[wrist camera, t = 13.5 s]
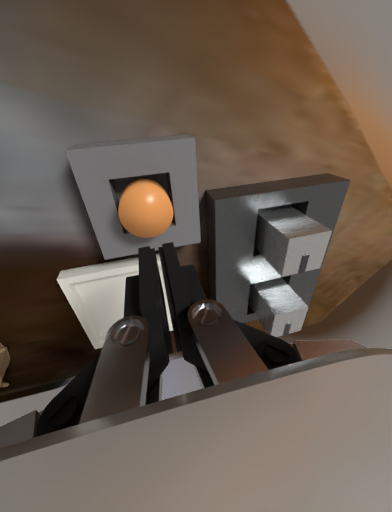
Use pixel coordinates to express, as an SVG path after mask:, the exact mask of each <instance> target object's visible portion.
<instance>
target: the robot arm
mask: <svg viewBox="0 0 392 512" xmlns="http://www.w3.org/2000/svg"><path fill="white" fill-rule="evenodd" d="M158 250H159V255H160V261H161V267H162V272H163V278H164V284H165V289H166V295H167V301H168V306H169V311H170V317H171V322H172V327H173V332H174V338H175V343H176V348H177V352H179V351H182V353H183V358H184V360H186V361H187V362H189V363H191V364H193V365H194V369H195V372H196V374H197V377H198V379H199V381H200V384H201V386H202V389H200V390H197V391H194V392H190V393H186V394H183V395H179V396H176V397H173V398H169V399H165V400H162V381H163V377H162V372H163V371H164V369H165V368H166V367H167V365H168V362H169V355H168V354H171V353H173V348H172V342H171V336H170V330H169V324H168V318H167V311H166V305H165V299H164V293H163V288H162V283H161V278H160V273H159V268H158V263H157V258H156V253H155V248H152V249H150V246H146V247H141V248H138V260H139V275H135V276H129V277H126V283H125V300H124V317H123V318H122V319H120V320H118V321H117V322H115V323H114V324H113V325H112V326H111V327H110V328H109V330H108V332H107V334H106V338H105V341H104V344H103V347H102V351H101V353H100V354H99V355H98V356H97V357H96V358H95V359H94V360H92V361H91V362H90V363H89V364H88V365H87V366H86V367H85V368H84V369H83V370H82V371H81V372H80V373H79V374H78V375H77V376H76V377H75V378H74V379H73V380H72V381H71V382H70V383H69V384H68V385H67V386H66V387H65V388H64V389H63V390H62V391H61V392H60V393H59V394H58V395H57V396H56V397H54V398H53V399H52V400H51V402H50V403H49V404H48V405H47V406H46V408H45V409H44V410H43V411H41V412H37V411H36V410H35V411H33V412H31V413H29V414H27V415H25V416H22V417H21V418H18V419H16V420H14V421H12V422H10V423H8V424H6V425H4V426H2V427H0V512H392V349H383V348H382V349H381V348H366V347H364V346H363V345H361V344H360V343H358V342H355V341H352V340H346V339H338V340H305V341H294V343H293V344H288V343H287V342H285V341H283V340H281V339H279V338H277V337H274V336H272V335H270V334H267V333H265V332H262V331H260V330H257V329H255V328H252V327H250V326H248V325H245V324H243V323H240V322H238V321H235V320H233V319H232V317H231V316H230V314H229V313H228V311H227V310H226V309H225V307H224V306H223V305H222V304H221V303H219V302H217V301H214V300H207V298H206V295H205V292H204V290H203V287H202V285H201V282H200V280H199V277H198V275H197V272H196V270H195V267H194V265H193V264H192V265H187V266H182V267H180V264H179V261H178V257H177V254H176V251H175V247H174V244H173V242H170V243H164V244H162V247H158Z"/></svg>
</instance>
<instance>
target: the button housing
mask: <svg viewBox="0 0 392 512" xmlns="http://www.w3.org/2000/svg"><path fill="white" fill-rule="evenodd" d="M65 152H66V155H67V158H68V160H69V163H70V166H71V168H72V171H73V174H74V177H75V179H76V182H77V185H78V188H79V190H80V193H81V196H82V199H83V201H84V204H85V207H86V210H87V212H88V215H89V218H90V221H91V223H92V226H93V229H94V232H95V234H96V237H97V240H98V243H99V245H100V248H101V251H102V253H103V256H104V259H105V260H106V259H112V258H117V257H123V256H128V255H134V254H138V248H141V247H146V246H150V249H152V248H155V251H156V250H158V247H162V244H164V243H170V242H173V244H174V247H178V246H184V245H189V244H195V243H200V242H201V235H200V218H199V200H198V182H197V164H196V147H195V137H192V136H189V135H187V134H186V135H175V136H165V137H154V138H143V139H132V140H122V141H111V142H100V143H90V144H79V145H73V146H72V147H70V148H68V149H66V150H65ZM142 178H145V179H151V180H154V181H156V182H157V183H159V184H160V185H161V186H162V187H163V188H164V189H165V191H166V193H167V195H168V197H169V199H170V201H171V204H172V207H173V219H172V222H171V224H170V226H169V227H168V228H167V230H166V231H164V232H163V233H162V234H160V235H158V236H155V237H150V238H143V237H138V236H135V235H133V234H131V233H130V232H128V231H127V230H126V229H125V228H124V227H123V225H122V223H121V222H120V219H119V214H118V209H119V202H120V196H121V193H122V190H123V189H124V187H125V186H126V185H127V184H128V183H130V182H131V181H133V180H136V179H142Z"/></svg>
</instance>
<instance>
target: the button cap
mask: <svg viewBox="0 0 392 512" xmlns="http://www.w3.org/2000/svg"><path fill="white" fill-rule="evenodd" d="M118 214H119V219H120V222H121V223H122V225H123V227H124V228H125V229H126V230H127V231H128V232H130V233H131V234H133V235H135V236H138V237H143V238H150V237H155V236H158V235H160V234H162V233H163V232H164V231H166V230H167V228H168V227H169V226H170V224H171V222H172V219H173V207H172V204H171V201H170V199H169V197H168V195H167V193H166V191H165V189H164V188H163V187H162V186H161V185H160V184H159V183H157V182H156V181H154V180H151V179H145V178H142V179H136V180H133V181H131V182H130V183H128V184H127V185H126V186H125V187H124V189H123V190H122V193H121V196H120V202H119V209H118Z"/></svg>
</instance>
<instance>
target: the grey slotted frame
mask: <svg viewBox="0 0 392 512" xmlns="http://www.w3.org/2000/svg"><path fill="white" fill-rule="evenodd" d="M349 183H350V180H348V179H345V178H342V177H338V176H335V175H332V174H328V173H327V174H320V175H313V176H306V177H299V178H291V179H284V180H277V181H270V182H263V183H256V184H248V185H241V186H234V187H227V188H220V189H213V190H206V213H207V240H208V268H209V296H210V300H214V301H217V302H219V303H221V304H222V305H223V306H224V307H225V309H226V310H227V311H228V313H229V314H230V316H231V317H232V319H233V320H235V321H238V322H240V323H246V322H250V321H254V320H258V318H257V317H256V315H255V313H254V312H253V310H252V309H251V307H250V305H249V304H248V299H249V289H250V284H254V283H258V282H263V281H267V280H272V279H276V278H281V275H280V274H279V273H278V272H277V271H276V270H275V269H274V268H273V267H272V266H271V265H270V263H269V262H268V261H267V260H266V259H265V258H264V257H263V256H262V255H261V254H260V253H259V251H258V250H257V249H256V248H255V247H254V242H255V232H256V223H257V213H258V209H263V208H269V207H275V206H281V205H287V204H288V205H289V206H291V207H293V208H294V209H296V210H298V211H300V212H301V213H303V214H305V215H306V216H308V217H310V218H311V219H313V220H315V221H317V222H318V223H320V224H322V225H323V226H325V227H327V228H329V229H330V230H332V233H331V236H330V239H329V242H328V245H327V248H326V251H325V254H324V258H325V255H326V252H327V249H328V246H329V243H330V240H331V237H332V234H333V231H334V228H335V225H336V222H337V219H338V216H339V213H340V210H341V207H342V204H343V201H344V198H345V195H346V192H347V189H348V186H349ZM324 258H323V261H324ZM323 261H322V264H323ZM322 264H321V267H322ZM321 267H320V268H319V269H315V270H310V271H306V272H305V273H300V274H299V273H297V274H292V275H288V276H284V277H282V279H283V280H284V281H285V282H286V283H287V284H288V285H289V286H290V287H291V288H292V290H293V291H294V292H295V293H296V294H297V295H298V296H299V297H300V298H301V299H302V300H303V302H304V303H305V304H306V305H307V306H309V303H310V300H311V297H312V294H313V291H314V288H315V285H316V282H317V279H318V276H319V273H320V270H321Z"/></svg>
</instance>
